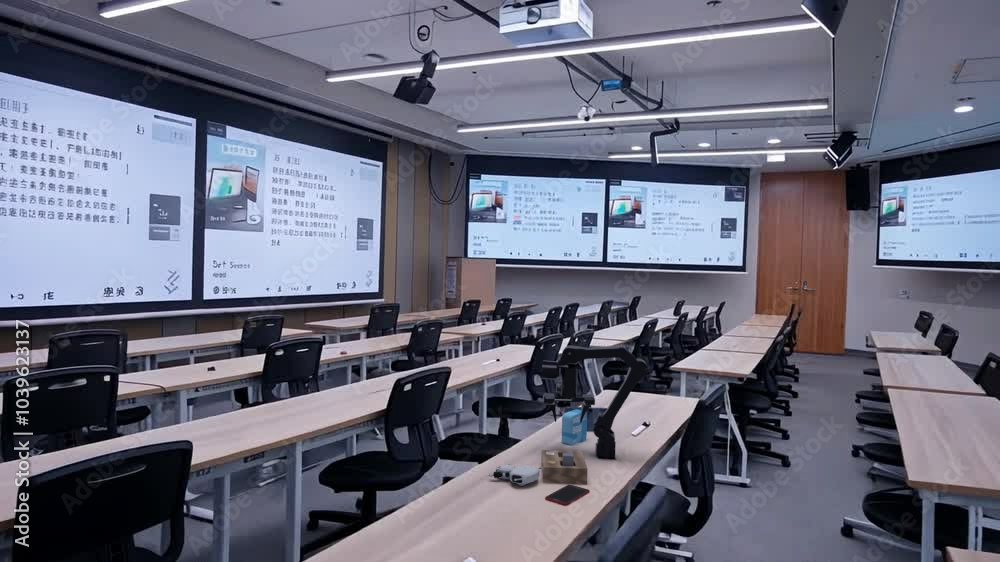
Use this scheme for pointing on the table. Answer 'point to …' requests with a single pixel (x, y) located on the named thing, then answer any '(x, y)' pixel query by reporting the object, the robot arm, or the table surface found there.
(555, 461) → the socket box
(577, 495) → the cell phone
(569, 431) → the data package
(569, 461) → the plug
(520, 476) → the robot toy
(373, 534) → the table surface
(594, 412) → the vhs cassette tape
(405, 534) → the table surface
